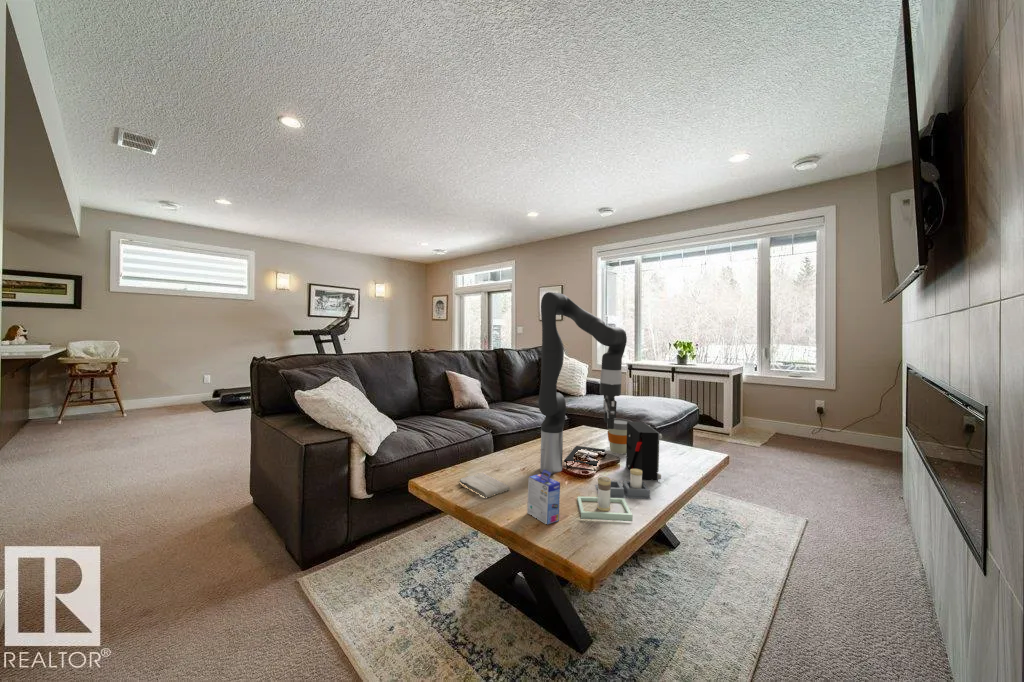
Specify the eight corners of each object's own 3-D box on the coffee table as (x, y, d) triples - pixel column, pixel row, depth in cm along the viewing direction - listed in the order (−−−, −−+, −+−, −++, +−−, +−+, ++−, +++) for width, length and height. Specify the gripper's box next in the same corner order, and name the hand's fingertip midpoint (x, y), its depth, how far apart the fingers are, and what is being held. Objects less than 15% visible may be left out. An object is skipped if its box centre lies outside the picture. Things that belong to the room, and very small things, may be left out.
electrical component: (662, 483, 152) (663, 433, 151) (636, 482, 152) (637, 432, 151) (647, 467, 169) (648, 422, 169) (624, 466, 169) (625, 421, 169)
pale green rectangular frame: (581, 518, 122) (581, 512, 122) (577, 501, 134) (577, 496, 134) (632, 521, 121) (632, 514, 121) (623, 504, 133) (624, 498, 132)
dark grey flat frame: (563, 466, 170) (564, 459, 169) (575, 451, 191) (575, 445, 191) (596, 471, 164) (596, 464, 164) (604, 455, 185) (604, 449, 185)
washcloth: (480, 477, 156) (481, 470, 156) (510, 491, 142) (510, 483, 142) (456, 485, 148) (456, 477, 147) (485, 500, 134) (485, 492, 134)
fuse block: (599, 499, 136) (599, 474, 135) (594, 487, 147) (595, 463, 146) (651, 502, 134) (651, 476, 134) (642, 489, 145) (643, 465, 145)
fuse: (598, 511, 125) (598, 481, 125) (596, 506, 129) (596, 476, 129) (611, 512, 125) (612, 482, 125) (608, 506, 129) (609, 477, 129)
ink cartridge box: (560, 520, 120) (561, 475, 120) (547, 526, 117) (548, 479, 116) (539, 508, 128) (540, 465, 128) (526, 513, 125) (527, 469, 124)
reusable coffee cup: (602, 451, 191) (602, 421, 190) (613, 445, 200) (613, 417, 200) (626, 456, 183) (626, 425, 182) (636, 450, 192) (637, 421, 192)
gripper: (597, 378, 147) (595, 420, 148) (603, 384, 133) (600, 430, 134) (617, 379, 147) (615, 421, 147) (625, 385, 132) (622, 431, 133)
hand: (608, 425), depth 141 cm, fingers open, 8 cm apart
